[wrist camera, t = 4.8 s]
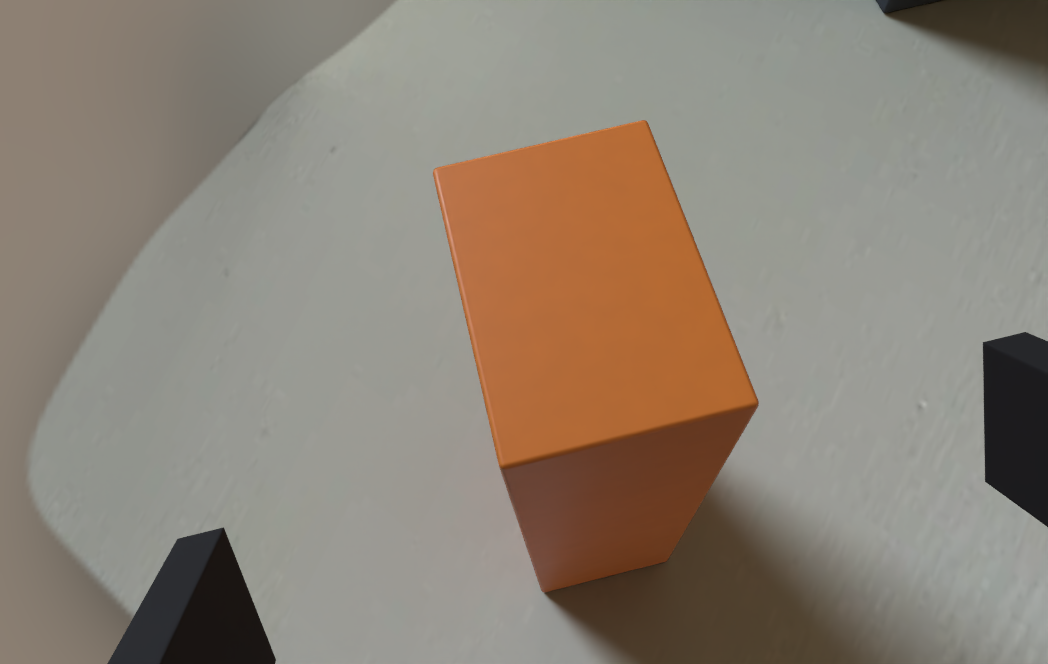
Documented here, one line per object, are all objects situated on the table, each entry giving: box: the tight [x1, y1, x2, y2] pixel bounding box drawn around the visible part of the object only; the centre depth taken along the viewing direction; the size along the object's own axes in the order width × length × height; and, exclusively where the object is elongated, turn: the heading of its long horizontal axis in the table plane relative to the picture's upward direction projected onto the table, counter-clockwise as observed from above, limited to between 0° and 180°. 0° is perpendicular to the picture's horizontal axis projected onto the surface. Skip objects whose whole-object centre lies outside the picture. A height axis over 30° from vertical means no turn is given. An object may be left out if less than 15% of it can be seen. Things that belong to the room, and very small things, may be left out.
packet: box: [433, 120, 758, 592], centre depth 16 cm, size 4×5×12 cm
